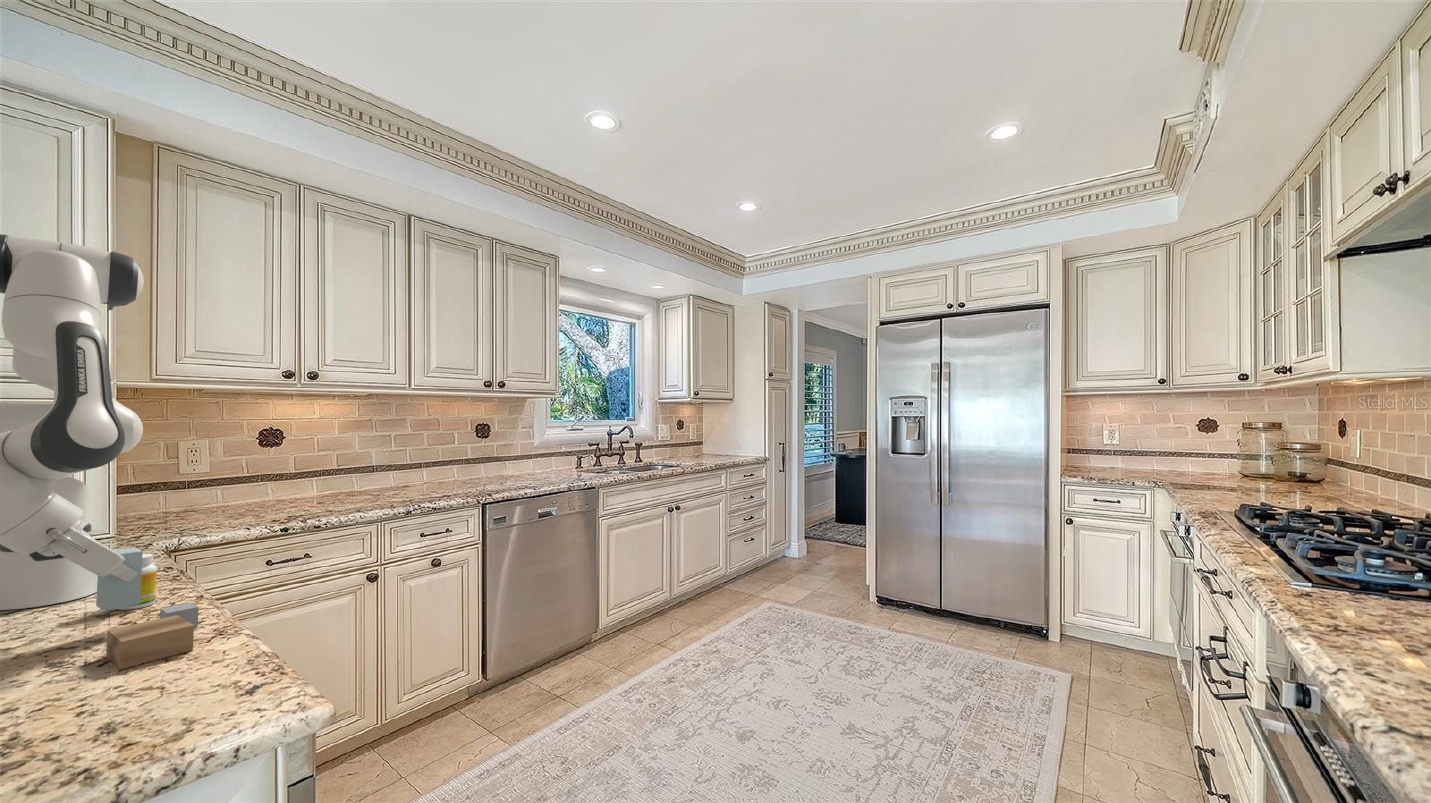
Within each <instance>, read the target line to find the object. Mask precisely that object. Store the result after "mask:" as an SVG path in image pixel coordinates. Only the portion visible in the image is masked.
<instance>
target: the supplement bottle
mask: <svg viewBox="0 0 1431 803" xmlns="http://www.w3.org/2000/svg"><path fill="white" fill-rule="evenodd" d="M153 561H154V554H153V553H152V554H151V553H143V554H142V574H141V594H140V604H136V605H131V606H125V607H120V608H116V609H117V610H118V611H131V610H137V609H143V608H146V607H149V606H152V605H153V604H155V602H156V596H157V594H156V591H157V574H158V567H157V566H156V565H155V564H153V563H152V562H153Z"/></svg>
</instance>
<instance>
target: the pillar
mask: <svg viewBox="0 0 1431 803" xmlns="http://www.w3.org/2000/svg"><path fill="white" fill-rule="evenodd" d="M112 550H113V551H115V552H117V553H118V554H120V555H122V556H123V557H124V558H125V560H124V561H123V562H122V563H123V564H125V565H126V566H127V567H129V568H130V569H132V570H134V571H135V572H137V575H136V576H135V577H134V578H133V579H132V580H131V581H128V582H126V581H124V580H122V579H120V578H118V577H116V576H114V575H111V574H108V575H106V576H104V577H101V576H98V581H97V592H96V599H95V600H96V605H95V606H97V608H99V609H100V610H101V611H103V612H105V611H108V610H109V611H110V610H115V609H117V608H120V607H125V606H131V605H136V604H140V594H141V574H142V554H144V552H143V550H141V549H139V548H137V547H127V548H120V549H112Z"/></svg>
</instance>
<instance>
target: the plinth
mask: <svg viewBox="0 0 1431 803" xmlns="http://www.w3.org/2000/svg"><path fill="white" fill-rule="evenodd" d="M194 632H195V630H194V625H193V624H191V623H189V622H188V621H186V620H184V619H183V618H181V617H179V616H178V615H176V616H171V617H167V618H162V619H160V618H158V619H152V620H148V621H144V622H139V623H135V624H130V625H126V626H122V627H121V626H120V627H117V628H116V627H115V628H110V629H107V633H106V652H105V654H106V655H105V657H106V658H107V659H108V660H109V661H110V662H112V664H113V665H115V666H116V667H117V668H118V669H119V670H124V669H127V668H132V667H134V666H135V667H136V666H139V664H140V665H143V664H142V663H144V664H146V662H148V661H151V662H154V661H159V660H162V659H161V658H163V659H166V658H165V657H167V658H170V657H169V656H171V657H174V656H173V655H175V656H178V655H177V654H179V655H181V654H180V653H182V654H184V653H183V652H186V653H190V652H193V651H194ZM158 659H159V660H158ZM148 663H149V662H148Z"/></svg>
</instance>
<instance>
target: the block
mask: <svg viewBox="0 0 1431 803" xmlns="http://www.w3.org/2000/svg"><path fill="white" fill-rule="evenodd" d="M159 610H160V611H159V619H162V618H167V617H171V616H176V615H178V616H179V617H181V618H183V619H184V620H186V621H188V622H189V623H191V624H193V625H194V629H196V628H198V626H199V622H198V621H199V606H198V605H196V604H194V603H193V602H187V603H182V604H181V603H180V604H176V605H172V606H167V607H166V606H165V607H160V609H159Z"/></svg>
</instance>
